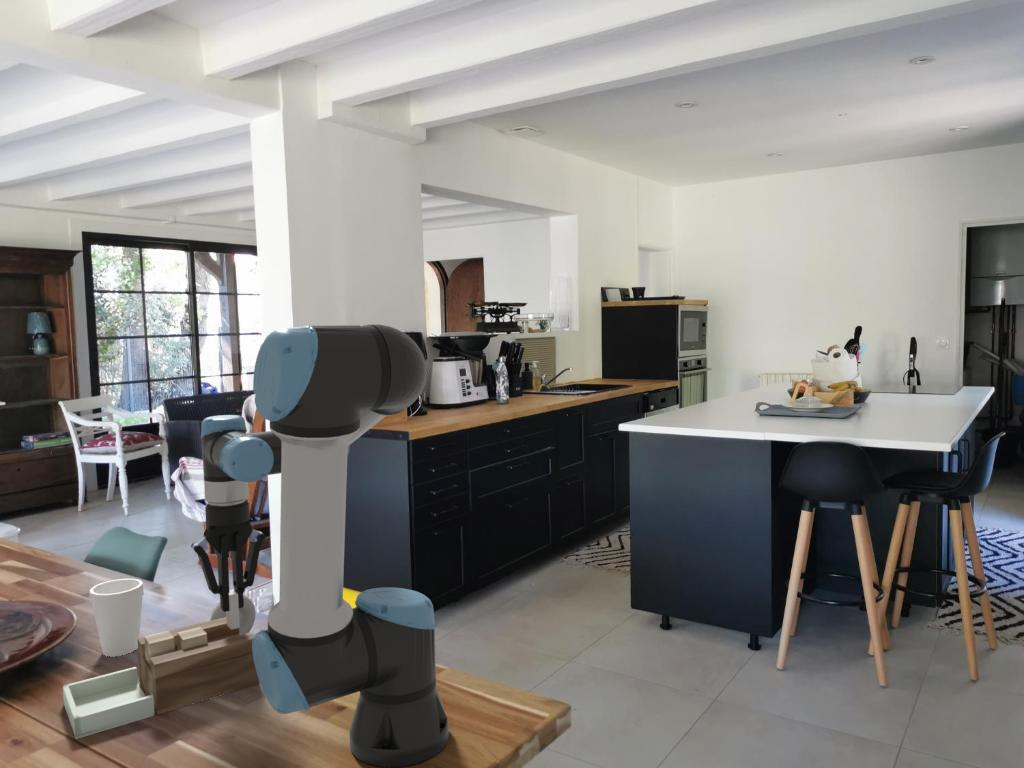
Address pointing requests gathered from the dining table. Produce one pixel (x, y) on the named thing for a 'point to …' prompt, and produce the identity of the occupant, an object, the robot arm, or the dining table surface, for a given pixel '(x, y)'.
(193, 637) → the beige wooden cube
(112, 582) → the foam cup
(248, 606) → the donut
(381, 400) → the robot arm
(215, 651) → the slot board
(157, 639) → the tan wooden cube
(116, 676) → the tray
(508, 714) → the dining table surface
